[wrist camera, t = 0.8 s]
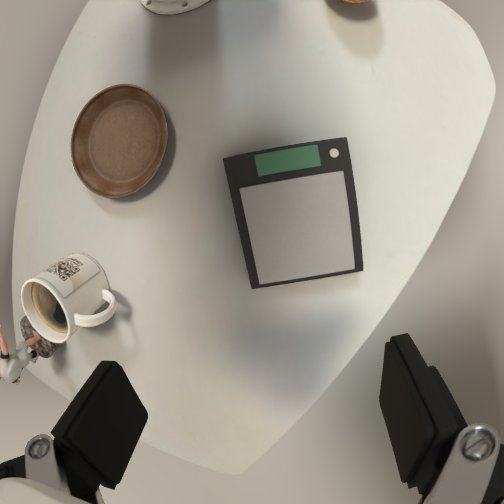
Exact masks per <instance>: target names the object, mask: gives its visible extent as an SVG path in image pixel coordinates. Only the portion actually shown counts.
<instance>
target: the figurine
mask: <svg viewBox="0 0 504 504" xmlns="http://www.w3.org/2000/svg"><path fill="white" fill-rule="evenodd" d="M0 325H1V324H0ZM20 325H21V331H22V334H23V337H24V339H25V341H21V342H20V343H19V344H18V345H17V347H16V353H15V354H11V355H9V353H8V347H7V343H6V341H5V339H4V338H3V336H2V334H1V326H0V343H1V348H2V352H1V357H0V379H1V378H3V379H4V381H5V382H6V383H14V384H15V385H18V384H19V382H20V381H19V379H18V378H20V375H21V372H22V369H23V368H24V367H26V366H27V365H28V364H29V361H31V362H33V363H36V360H37V358H38V356H41V357H44V358H49V357H50V356H51V355H52V354H53V353H54V352H55V351H56V350H57V349H58V348H59V347H60V346H61V345H62V343H54V342H51V341H49V340H47V339H45V338H44V337H43V336H41V335H40V334H39V333H38V332H37V331H36V330H35V329H34V327H33V326H32V325H31V323H30V322H29V320H28V318H27V316H25V317H24V318H22V320H21V323H20ZM29 347H30V348H29Z"/></svg>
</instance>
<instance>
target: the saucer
mask: <svg viewBox="0 0 504 504" xmlns="http://www.w3.org/2000/svg"><path fill="white" fill-rule="evenodd" d="M167 138H168V129H167V122H166V118H165V114H164V112H163V109H162V107H161V105H160V104H159V102H158V101H157V99H156V98H155V97H154V96H153V95H152V94H151V93H149V92H148V91H147V90H145V89H143V88H141V87H139V86H136V85H130V84H120V85H115V86H111V87H108V88H106V89H104V90H102V91H101V92H99V93H98V94H96V95H95V96H94V97H93V98H92V99H90V101H89V102H88V103H87V104H86V105H85V106H84V108H83V109H82V111H81V112H80V114H79V116H78V118H77V120H76V122H75V125H74V129H73V133H72V138H71V157H72V162H73V166H74V169H75V171H76V173H77V175H78V177H79V178H80V180H81V181H82V183H83V184H84V185H85V186H86V187H87V188H88V189H89V190H91V191H92V192H94V193H96V194H98V195H100V196H103V197H107V198H120V197H125V196H128V195H131V194H133V193H135V192H136V191H138V190H140V189H141V188H142V187H143V186H145V185H146V184H147V183H148V182H149V181H150V179H151V178H152V177H153V176H154V174H155V173H156V171H157V170H158V168H159V166H160V164H161V162H162V159H163V157H164V153H165V150H166V145H167Z"/></svg>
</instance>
